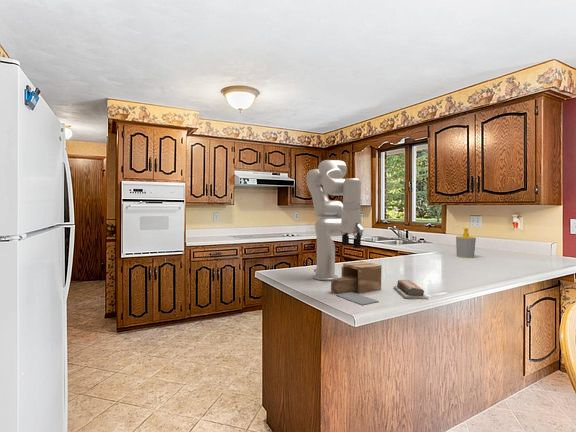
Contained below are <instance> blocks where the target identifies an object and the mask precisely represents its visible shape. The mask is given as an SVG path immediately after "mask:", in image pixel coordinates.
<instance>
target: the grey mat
mask: <svg viewBox="0 0 576 432" xmlns="http://www.w3.org/2000/svg"><path fill="white" fill-rule="evenodd" d="M335 296H337V297H339V298H341V299H344V300H346V301H349V302H352V303H354V304H357V305H360V306H367V305H370V304H371V305H372V304H375V303H379V302H380V301H379V300H376V299H374V298H371V297H368V296H365V295H362V294H360V293H356V292H348V293H342V294H336V295H335Z"/></svg>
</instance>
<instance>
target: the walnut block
mask: <svg viewBox="0 0 576 432" xmlns="http://www.w3.org/2000/svg"><path fill="white" fill-rule="evenodd" d="M330 285H331V286H330V289H331V290H330V292H332V293H334V294H336V295H337V294H343V293H349V292H353V293H355V292H358V276H347V277H342V276H341V277H338V278H333V279H331V281H330Z"/></svg>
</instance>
